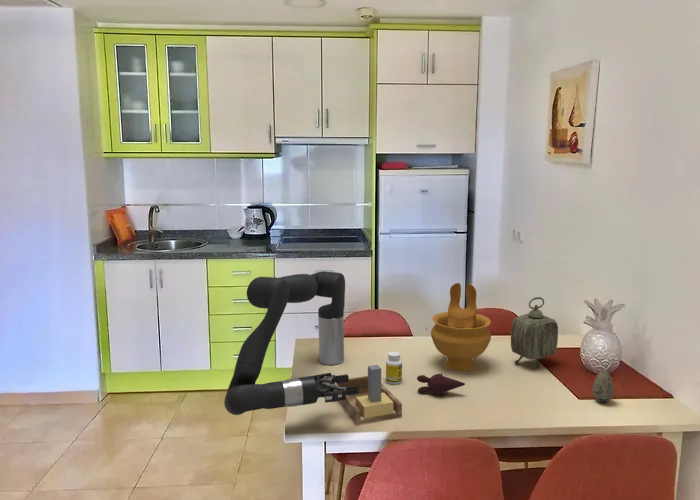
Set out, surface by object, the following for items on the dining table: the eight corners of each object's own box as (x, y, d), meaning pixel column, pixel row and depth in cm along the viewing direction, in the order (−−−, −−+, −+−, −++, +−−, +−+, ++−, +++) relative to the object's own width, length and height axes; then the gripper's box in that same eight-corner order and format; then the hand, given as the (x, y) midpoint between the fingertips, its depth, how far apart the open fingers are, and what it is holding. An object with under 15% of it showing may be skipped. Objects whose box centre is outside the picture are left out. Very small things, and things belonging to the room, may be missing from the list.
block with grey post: (355, 408, 169) (355, 365, 166) (383, 403, 172) (384, 361, 169) (364, 418, 162) (364, 373, 160) (393, 413, 165) (393, 369, 163)
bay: (337, 398, 178) (336, 380, 177) (378, 391, 183) (378, 374, 181) (356, 424, 161) (356, 404, 160) (401, 416, 166) (402, 397, 165)
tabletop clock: (539, 357, 211) (543, 292, 207) (558, 365, 203) (562, 298, 199) (509, 364, 205) (512, 297, 201) (527, 372, 197) (530, 303, 193)
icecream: (464, 371, 183) (417, 372, 186) (464, 374, 176) (415, 375, 178) (465, 393, 182) (418, 393, 185) (465, 397, 175) (416, 397, 178)
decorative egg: (611, 407, 171) (613, 376, 169) (590, 403, 174) (592, 372, 172) (614, 400, 176) (616, 369, 174) (593, 395, 179) (595, 365, 177)
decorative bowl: (423, 371, 199) (425, 288, 193) (437, 351, 218) (439, 275, 213) (484, 380, 191) (488, 294, 186) (493, 358, 210) (497, 279, 205)
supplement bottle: (400, 385, 188) (401, 357, 186) (384, 384, 189) (384, 356, 187) (402, 378, 193) (403, 351, 191) (386, 377, 194) (387, 350, 192)
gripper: (304, 388, 150) (362, 380, 156) (291, 369, 163) (345, 362, 169) (305, 415, 152) (362, 406, 157) (292, 394, 165) (345, 386, 170)
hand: (353, 383), depth 163 cm, fingers open, 8 cm apart
